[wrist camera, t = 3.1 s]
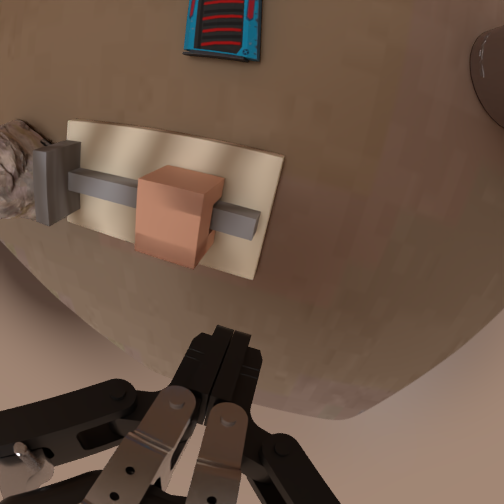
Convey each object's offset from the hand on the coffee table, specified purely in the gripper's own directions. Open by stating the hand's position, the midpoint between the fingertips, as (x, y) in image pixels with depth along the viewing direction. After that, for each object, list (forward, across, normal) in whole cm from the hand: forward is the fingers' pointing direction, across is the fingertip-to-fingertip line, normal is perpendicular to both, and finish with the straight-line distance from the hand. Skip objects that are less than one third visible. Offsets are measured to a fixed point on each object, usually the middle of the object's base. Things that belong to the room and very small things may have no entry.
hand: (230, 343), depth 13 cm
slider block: (+14, +7, 0) cm, 15 cm away
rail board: (+15, +11, 0) cm, 19 cm away
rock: (+16, +29, +2) cm, 33 cm away
